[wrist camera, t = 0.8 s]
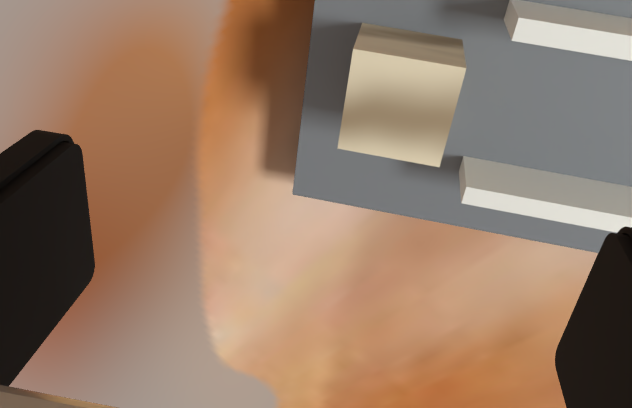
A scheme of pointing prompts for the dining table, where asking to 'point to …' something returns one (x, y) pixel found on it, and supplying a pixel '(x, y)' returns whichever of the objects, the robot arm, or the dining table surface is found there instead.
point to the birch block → (401, 94)
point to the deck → (490, 119)
